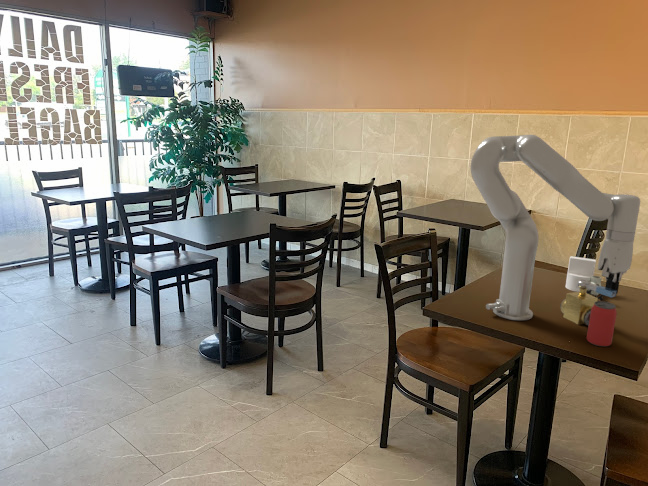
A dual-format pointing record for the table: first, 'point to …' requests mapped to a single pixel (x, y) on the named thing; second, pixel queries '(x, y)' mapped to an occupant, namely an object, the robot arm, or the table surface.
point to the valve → (596, 281)
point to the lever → (597, 288)
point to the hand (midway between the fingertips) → (611, 292)
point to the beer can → (601, 323)
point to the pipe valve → (578, 306)
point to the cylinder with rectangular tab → (579, 272)
